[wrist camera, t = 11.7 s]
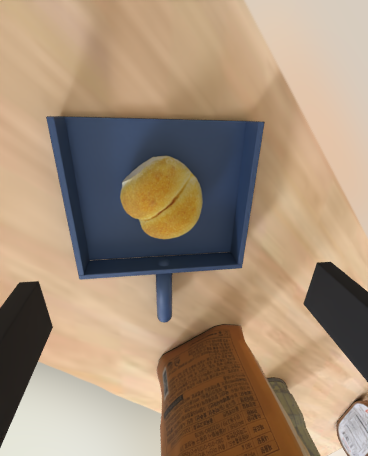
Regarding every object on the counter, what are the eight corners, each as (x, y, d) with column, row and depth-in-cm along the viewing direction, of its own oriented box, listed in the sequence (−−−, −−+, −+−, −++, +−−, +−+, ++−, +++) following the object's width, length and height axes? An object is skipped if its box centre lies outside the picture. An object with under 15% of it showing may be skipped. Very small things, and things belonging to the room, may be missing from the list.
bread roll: (160, 243, 29) (162, 261, 26) (109, 187, 26) (103, 199, 22) (214, 204, 28) (224, 217, 25) (170, 140, 24) (174, 144, 21)
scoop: (59, 116, 22) (45, 116, 19) (249, 121, 25) (264, 121, 22) (95, 315, 33) (90, 336, 30) (226, 303, 36) (233, 321, 33)
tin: (338, 428, 61) (365, 472, 53) (328, 428, 60) (354, 473, 53) (369, 392, 55) (405, 435, 48) (359, 392, 54) (393, 436, 47)
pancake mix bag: (134, 361, 39) (116, 812, 14) (236, 305, 37) (433, 712, 12) (157, 380, 42) (177, 778, 17) (252, 329, 40) (437, 695, 15)
